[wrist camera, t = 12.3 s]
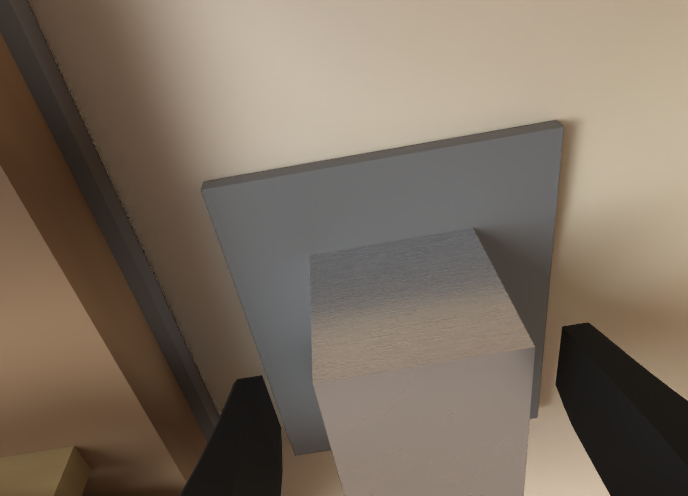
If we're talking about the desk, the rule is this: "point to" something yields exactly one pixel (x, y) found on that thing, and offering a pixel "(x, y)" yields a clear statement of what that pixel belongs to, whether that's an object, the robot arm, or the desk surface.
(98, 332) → the body
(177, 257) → the desk surface
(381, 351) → the brushed metal cube
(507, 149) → the mat
